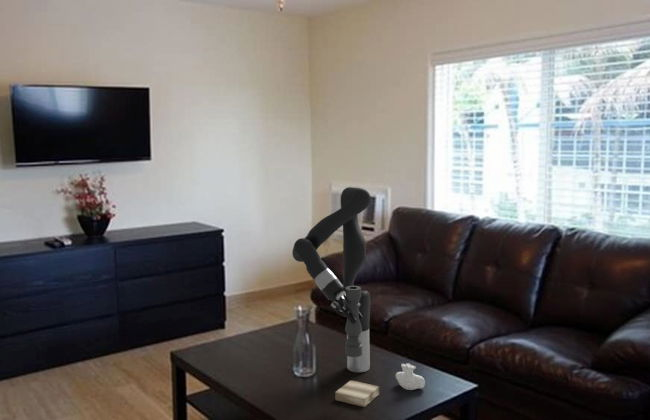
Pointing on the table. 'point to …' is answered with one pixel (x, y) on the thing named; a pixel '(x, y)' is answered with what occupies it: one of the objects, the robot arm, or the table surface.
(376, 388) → the birch plate
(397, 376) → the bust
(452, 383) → the table surface
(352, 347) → the candle holder
